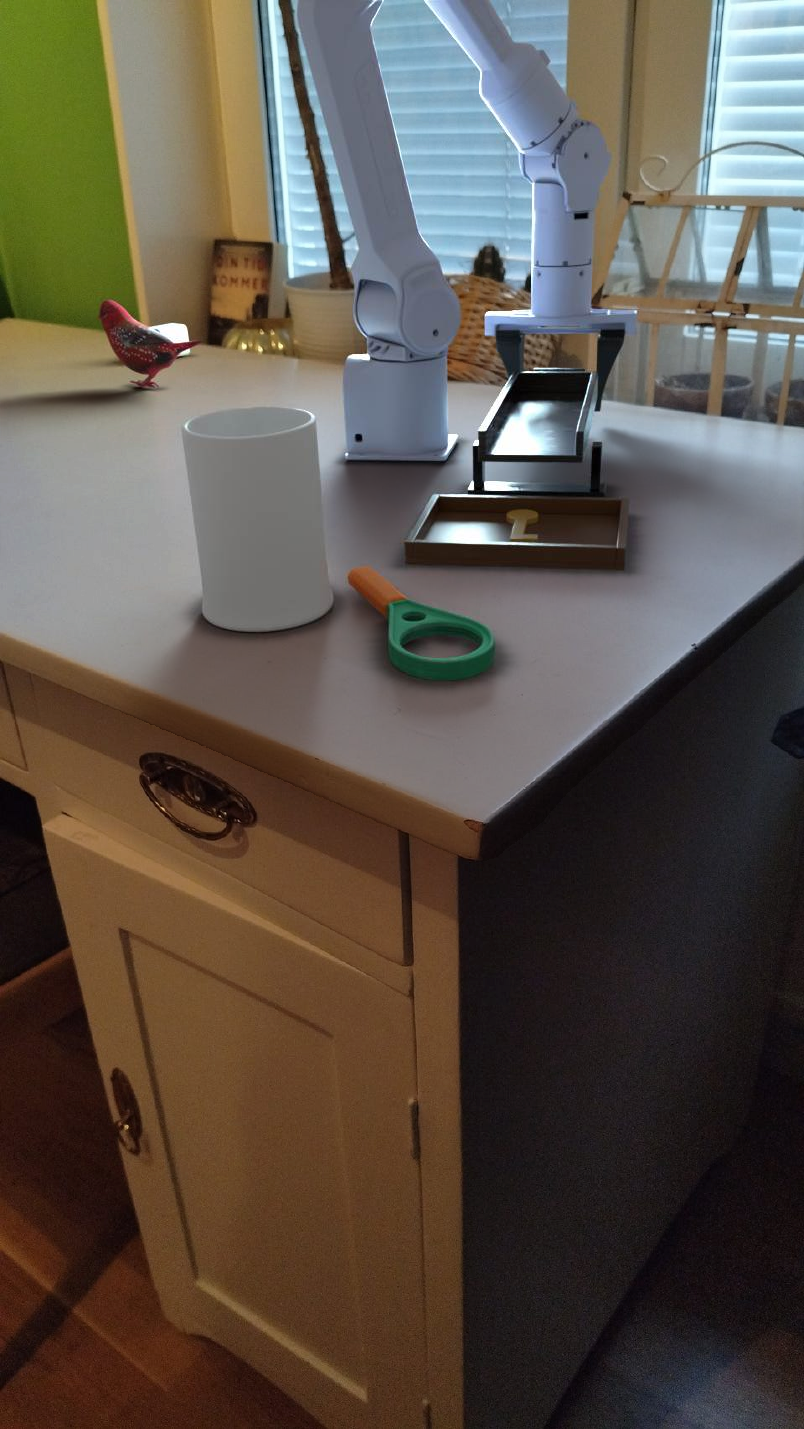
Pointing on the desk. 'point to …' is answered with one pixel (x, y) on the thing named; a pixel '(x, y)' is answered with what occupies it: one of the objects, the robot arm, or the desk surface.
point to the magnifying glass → (423, 630)
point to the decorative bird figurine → (139, 343)
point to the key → (522, 525)
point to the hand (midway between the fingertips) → (558, 409)
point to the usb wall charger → (174, 333)
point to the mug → (258, 517)
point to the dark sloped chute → (541, 417)
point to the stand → (539, 488)
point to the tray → (564, 532)
